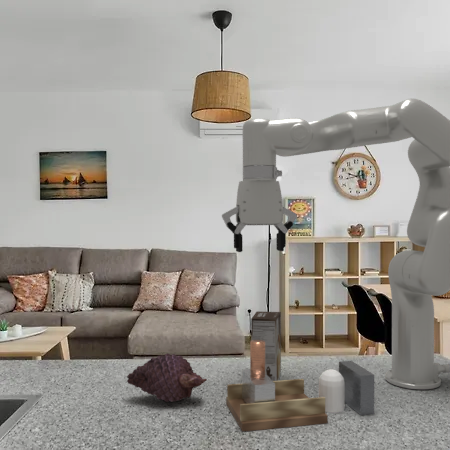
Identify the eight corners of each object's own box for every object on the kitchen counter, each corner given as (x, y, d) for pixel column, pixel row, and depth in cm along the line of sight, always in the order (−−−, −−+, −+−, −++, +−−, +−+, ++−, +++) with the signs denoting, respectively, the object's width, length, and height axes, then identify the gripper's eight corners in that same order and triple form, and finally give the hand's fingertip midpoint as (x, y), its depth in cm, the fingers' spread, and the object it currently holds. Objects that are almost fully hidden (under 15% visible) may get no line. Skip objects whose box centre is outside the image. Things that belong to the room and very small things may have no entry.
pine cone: (121, 407, 104) (120, 360, 104) (134, 391, 114) (134, 347, 114) (204, 410, 103) (204, 362, 102) (210, 393, 112) (210, 349, 112)
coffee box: (256, 373, 127) (256, 310, 126) (281, 374, 125) (281, 311, 125) (250, 385, 118) (250, 317, 117) (277, 387, 116) (277, 318, 116)
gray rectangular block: (351, 396, 110) (351, 360, 110) (374, 414, 100) (374, 374, 100) (338, 397, 109) (338, 361, 109) (360, 415, 100) (360, 375, 99)
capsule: (318, 402, 107) (317, 365, 107) (343, 403, 106) (343, 366, 106) (319, 412, 101) (319, 373, 101) (345, 413, 101) (345, 374, 100)
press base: (301, 397, 110) (301, 377, 110) (327, 423, 96) (327, 400, 96) (226, 403, 106) (226, 382, 106) (242, 431, 92) (242, 407, 92)
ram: (260, 396, 106) (260, 335, 105) (275, 414, 96) (274, 347, 96) (242, 397, 105) (241, 336, 104) (255, 416, 95) (254, 348, 95)
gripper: (290, 177, 117) (290, 249, 118) (218, 176, 114) (219, 250, 114) (301, 174, 110) (302, 251, 110) (225, 173, 106) (226, 253, 106)
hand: (259, 251), depth 112 cm, fingers open, 9 cm apart
